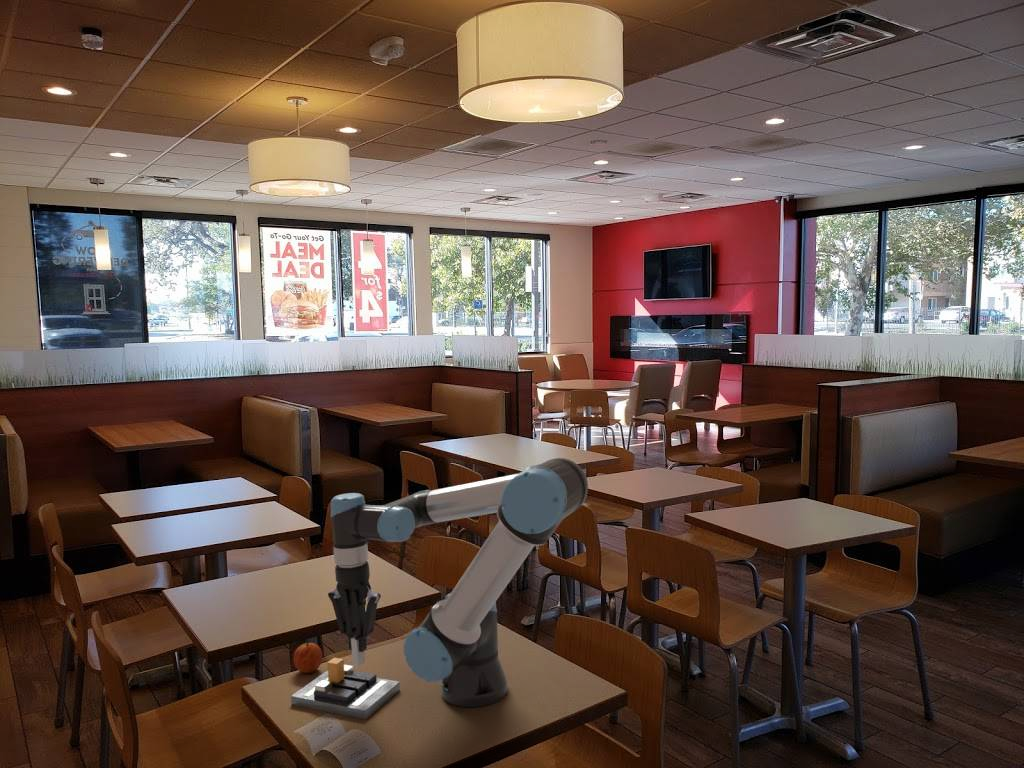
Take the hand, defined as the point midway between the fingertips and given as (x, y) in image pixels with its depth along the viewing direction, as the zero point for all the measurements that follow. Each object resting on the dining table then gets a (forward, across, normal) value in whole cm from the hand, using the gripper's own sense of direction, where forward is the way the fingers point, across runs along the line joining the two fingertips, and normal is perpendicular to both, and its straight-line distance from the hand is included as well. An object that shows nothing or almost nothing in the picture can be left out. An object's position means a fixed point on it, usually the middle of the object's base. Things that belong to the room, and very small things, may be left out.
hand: (359, 664), depth 171 cm
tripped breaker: (+5, +7, 0) cm, 8 cm away
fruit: (+8, +21, -8) cm, 24 cm away
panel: (+8, +4, 0) cm, 9 cm away
